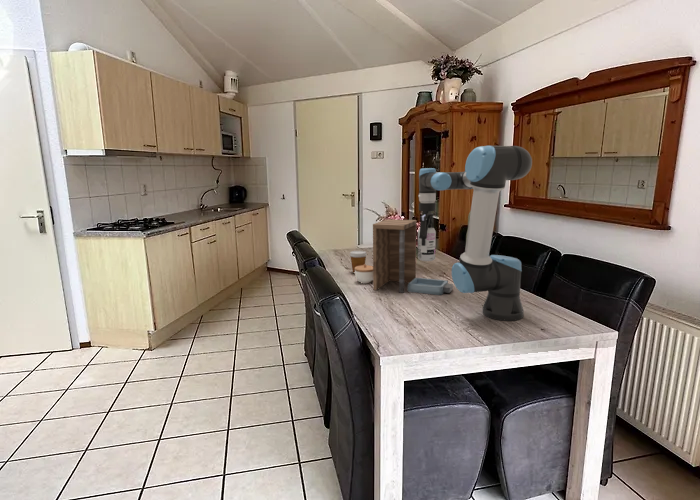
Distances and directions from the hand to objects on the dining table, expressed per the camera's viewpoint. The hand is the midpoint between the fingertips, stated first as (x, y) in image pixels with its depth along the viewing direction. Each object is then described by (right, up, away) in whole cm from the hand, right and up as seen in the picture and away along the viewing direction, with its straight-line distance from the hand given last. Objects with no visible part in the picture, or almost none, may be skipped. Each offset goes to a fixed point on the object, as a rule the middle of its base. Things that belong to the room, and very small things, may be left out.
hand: (426, 250), depth 193 cm
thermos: (+30, -14, +26) cm, 42 cm away
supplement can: (0, -4, +1) cm, 4 cm away
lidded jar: (-28, -16, +18) cm, 38 cm away
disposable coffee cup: (-31, -13, +37) cm, 50 cm away
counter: (-14, -18, +9) cm, 24 cm away
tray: (+2, -19, +2) cm, 19 cm away
